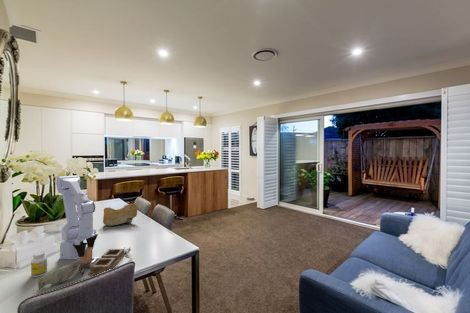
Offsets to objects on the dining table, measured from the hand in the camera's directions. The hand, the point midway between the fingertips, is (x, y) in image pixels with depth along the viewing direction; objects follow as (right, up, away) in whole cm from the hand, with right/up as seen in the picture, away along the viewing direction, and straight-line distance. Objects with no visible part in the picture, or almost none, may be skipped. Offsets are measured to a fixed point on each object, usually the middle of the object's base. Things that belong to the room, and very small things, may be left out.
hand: (86, 252), depth 110 cm
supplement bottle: (-16, -6, -9) cm, 19 cm away
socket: (0, -6, 0) cm, 6 cm away
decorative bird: (-1, -7, -14) cm, 16 cm away
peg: (0, -6, 0) cm, 6 cm away
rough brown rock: (-14, -4, +61) cm, 63 cm away
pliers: (+14, -6, +10) cm, 19 cm away
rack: (+10, -6, +2) cm, 12 cm away
